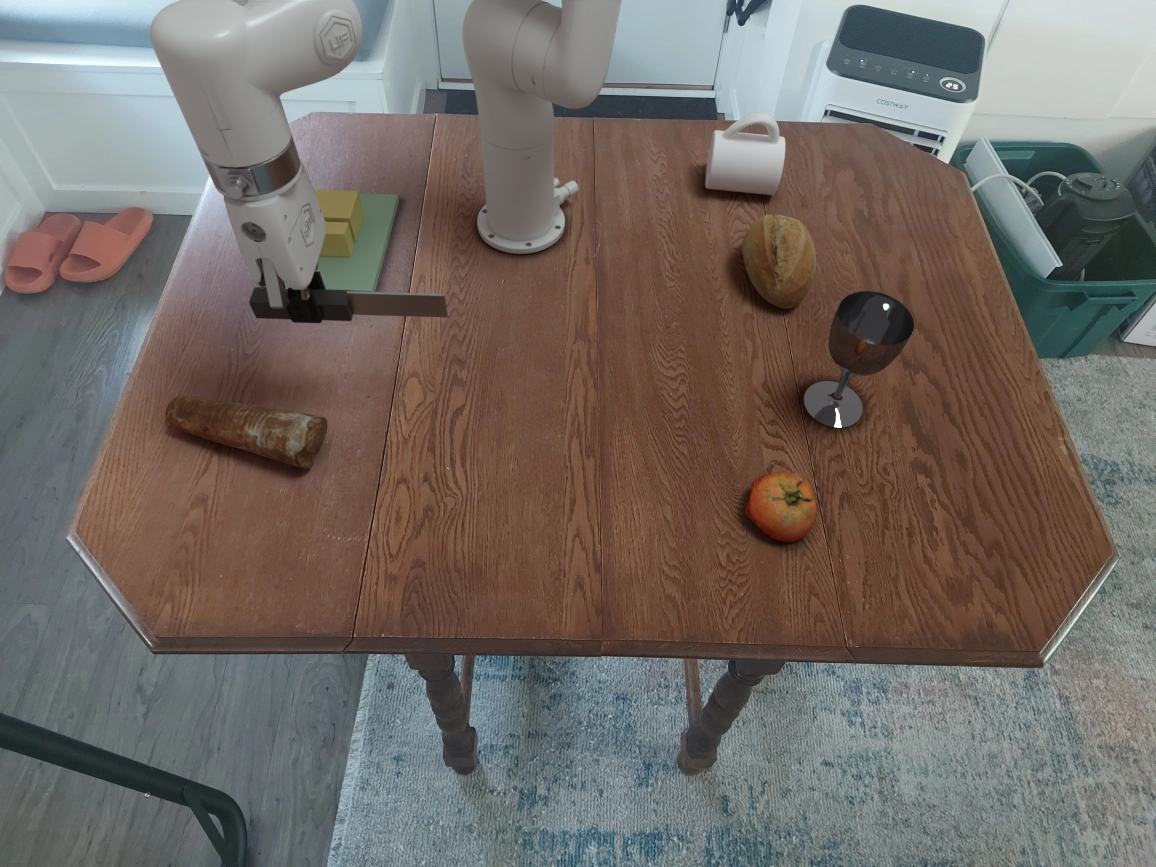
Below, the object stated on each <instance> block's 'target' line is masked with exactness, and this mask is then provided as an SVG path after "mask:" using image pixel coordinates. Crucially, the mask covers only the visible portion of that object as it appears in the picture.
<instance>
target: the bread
mask: <svg viewBox="0 0 1156 867" xmlns="http://www.w3.org/2000/svg"><path fill="white" fill-rule="evenodd" d="M164 422H165V424H166V425H167V427H168V428H169V429H172V430H176V431H178V432H179V431H180V432H182V433H187V434H190V435H193V436H196V437H199V438H202V439H204V440H207V441H211V442H214V443H218V444H221V445H225V446H229V447H232V448H236V449H240V450H243V451H246V452H249V453H253V454H255V455H259V456H262V457H264V458H267V459H270V460H275V461H277V462H281V463H282V464H283V463H284V464H287V465H289V466H293V467H297V468H300V469H304V470H305V469H306V470H308V469H310V468H311V467H312V466H313V465H314V458H315V456H316V454H317V452H318V451H319V450H320V449H321V447H322V446H323V442H324V440H325V436H326V434H327V431H328V419H327V418H326V417H325V416H318V415H314V414H311V413H306V412H298V411H292V410H287V409H279V408H271V407H266V406H261V405H255V404H249V403H243V402H235V401H228V400H222V399H221V400H220V399H215V398H208V397H202V396H192V395H190V396H189V395H178V396H176V397H174V398H173V399H171V400H170V401H169V402H168V404H167V405H166V408H165V421H164Z"/></svg>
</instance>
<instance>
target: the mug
mask: <svg viewBox="0 0 1156 867" xmlns="http://www.w3.org/2000/svg"><path fill="white" fill-rule="evenodd" d="M752 125H762V126H764V127H765V128H766V131H767V134H761V133H760V134H759V133H751V132H749V133H748V132H740V131H742V130H743V129H745V128H747V127H749V126H752ZM786 146H787V145H786V139H785V137H784V136H781V135H780V128H779V124H778V122H777V121H776V120H775V118H774V117H773V116H771V115H770V114H768V113H765V112H754V113H749V114H747V115H745V116H743V117H741V118H739V119H738V120H737V121H735V122H733V123H732V124H731V125H730V126H729V127H727V128H726V129H725V130H719V129H715V130H713V132H712V135H711V139H710V143H709V149H708V154H707V163H706V171H705V178H704V180H705V181H704V186H705V187H704V188H706V190H717V191H724V192H725V191H727V192H735V193H744V194H745V193H746V194H757V195H766V196H774V195H775V194H776V193H777V191H778V189H779V186H780V183H781V179H782V175H783V171H784V165H785V158H786Z"/></svg>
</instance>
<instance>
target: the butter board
mask: <svg viewBox="0 0 1156 867" xmlns="http://www.w3.org/2000/svg"><path fill="white" fill-rule="evenodd" d="M314 192H315V194H316V197H317V199H318V202H319V205H320V208H321V210H322V213H323V216H324V219H325V222H347V223H348V224H349V228H350V231H351V235H352V238H353V242H354V249H353V252H352V256H351V257H332V256H319V258H318V270H315V271H320V274H321V277H322V280H323V283H324V285H325V288H326V289H328V290H350V291H362V292H376V290H377V285H378V282H379V278H380V275H381V270H382V268H383V264H384V260H385V256H386V252H387V249H388V245H389V242H390V241H389V240H390V237H391V233H392V230H393V227H394V223H395V218H396V214H397V211H398V208H399V204H400V198H399V194H390V193H389V194H387V193H366V192H362V193H361V192H359V190H337V189H314ZM284 284H285V287H288V288H290V287H289V286H288V285H287V284H286V283H285V282H284Z"/></svg>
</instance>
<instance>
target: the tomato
mask: <svg viewBox="0 0 1156 867" xmlns="http://www.w3.org/2000/svg"><path fill="white" fill-rule="evenodd" d="M749 491H750V494H749V497H748V496H746V497H745V499H746V500H748V498H749V501H748V502H747V503H746V506H745V509H744V513H745V514H746V516H747V517H748V518H749V519H750V520H751V521H752V522H753V523H754V525H756V526H757V527H758V529H760V530H761V531H762V533H763V534H765V535H768V537H770V538H772V539H773V540H777V541H779V542H783V543H787V544H794V543H797V542H798V541H800V540H802V539H803V538H805V537H807V535H808V534H809V533H810V532H811V530H812V529H813V526H814V523H815V520H816V518H817V514H818V506H817V505H818V504H817V501H816V497H815V495H814V493H813V490H812V487H811V485H810V484H809V482H808V481H807V480H806V479H805V478H804V477H803V476H801V475H799V474H797V473H793V472H790V471H789V472H788V471H778V472H777V471H776V472H773V473H768V474H762V475H761V476H759V477H757V478H756V479H754V481H752V483H751V484H750V487H749Z"/></svg>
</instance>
